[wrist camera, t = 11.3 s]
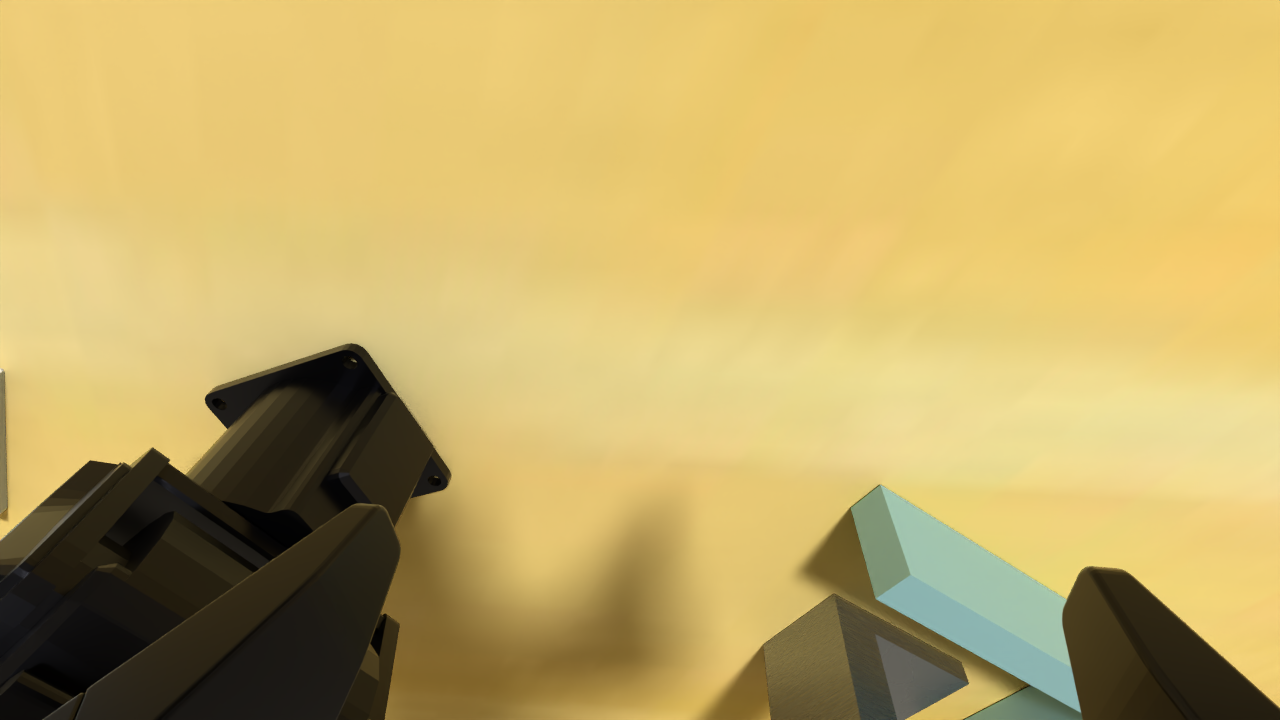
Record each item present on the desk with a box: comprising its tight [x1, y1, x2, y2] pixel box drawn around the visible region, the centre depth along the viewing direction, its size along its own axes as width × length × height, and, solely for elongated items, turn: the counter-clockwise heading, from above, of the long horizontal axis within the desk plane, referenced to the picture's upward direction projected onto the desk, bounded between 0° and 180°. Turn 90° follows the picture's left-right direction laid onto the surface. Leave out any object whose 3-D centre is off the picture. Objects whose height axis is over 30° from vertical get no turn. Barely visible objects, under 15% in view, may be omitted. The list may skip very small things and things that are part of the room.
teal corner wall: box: [851, 485, 1083, 720], centre depth 27 cm, size 16×11×4 cm
